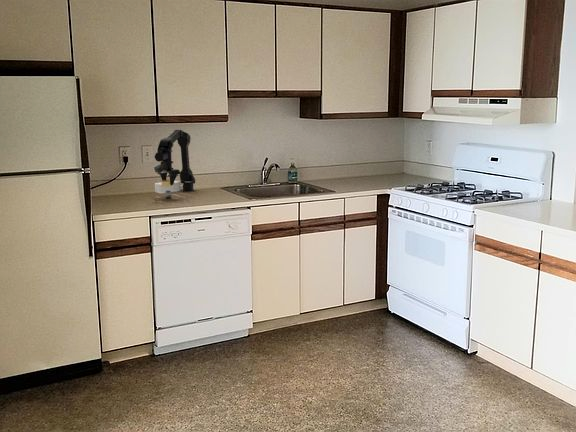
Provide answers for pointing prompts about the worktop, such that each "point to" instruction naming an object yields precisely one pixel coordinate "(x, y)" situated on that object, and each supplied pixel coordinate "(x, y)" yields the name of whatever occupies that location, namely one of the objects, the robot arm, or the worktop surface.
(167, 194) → the steel post
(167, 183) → the brass ring
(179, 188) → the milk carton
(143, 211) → the worktop surface
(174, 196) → the copper plate
